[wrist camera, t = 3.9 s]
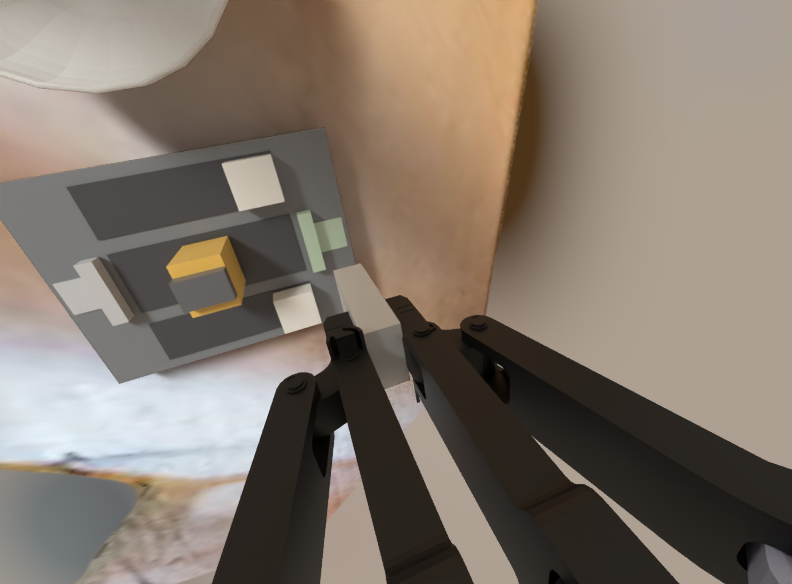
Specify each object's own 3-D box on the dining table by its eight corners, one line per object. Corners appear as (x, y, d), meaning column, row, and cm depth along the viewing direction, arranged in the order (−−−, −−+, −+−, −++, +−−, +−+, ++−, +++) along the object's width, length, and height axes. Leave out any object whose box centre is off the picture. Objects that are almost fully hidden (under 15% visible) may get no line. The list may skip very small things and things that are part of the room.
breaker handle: (203, 291, 25) (189, 324, 21) (182, 246, 23) (161, 271, 19) (246, 280, 26) (241, 310, 21) (227, 235, 24) (218, 258, 20)
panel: (130, 364, 28) (110, 398, 24) (6, 181, 21) (-48, 191, 17) (359, 298, 32) (370, 318, 29) (320, 127, 25) (328, 127, 22)
